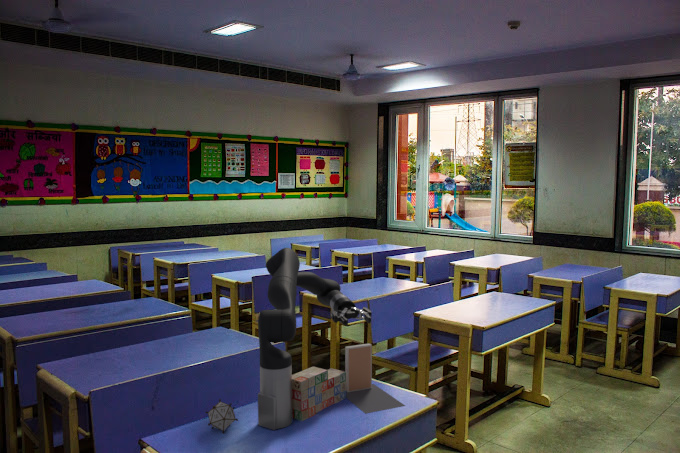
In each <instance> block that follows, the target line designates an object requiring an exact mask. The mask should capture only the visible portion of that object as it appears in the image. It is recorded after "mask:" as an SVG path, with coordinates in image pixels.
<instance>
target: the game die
mask: <svg viewBox="0 0 680 453" xmlns="http://www.w3.org/2000/svg"><path fill="white" fill-rule="evenodd" d="M232 404H233V403H232V402H230V403H229V404H228V403H227V402H226V403H225V402H223V401H222V400H221V398H219V399H218V402H217V404H215V405H212V408H211V409H210V410H209V411H207V410H206V411H205V414H208V415H207V416H208V419H209V423H208V425H207V426H210V425H211V426H212V427H211V430H212V429H217V430H220V431H222V434H224V435H225V431H226V430H227V429H228V428H229V427H231V425H232V423H234V422H235V421H239V419H238V418H236V416H235V411H234V410H235V408H236V407H234V406H233V407H232Z"/></svg>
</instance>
